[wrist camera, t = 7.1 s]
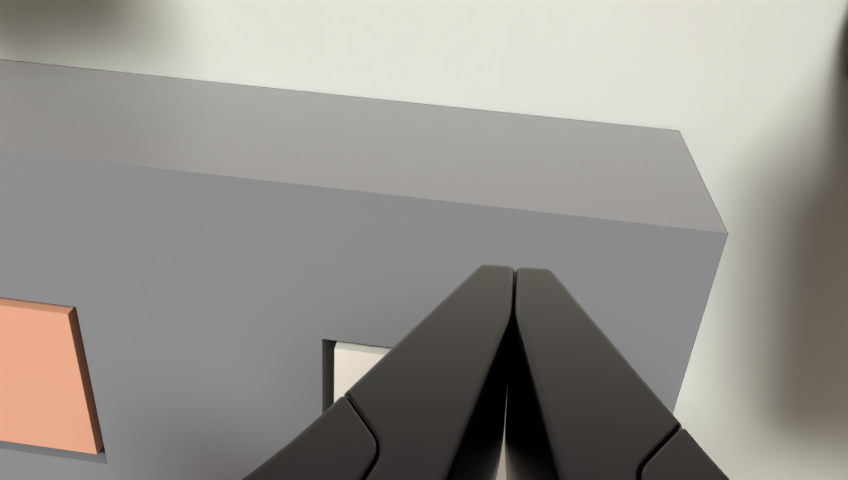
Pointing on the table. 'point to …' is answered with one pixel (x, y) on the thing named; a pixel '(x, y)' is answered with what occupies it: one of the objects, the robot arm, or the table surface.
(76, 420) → the terracotta key
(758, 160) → the table surface
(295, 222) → the key console
